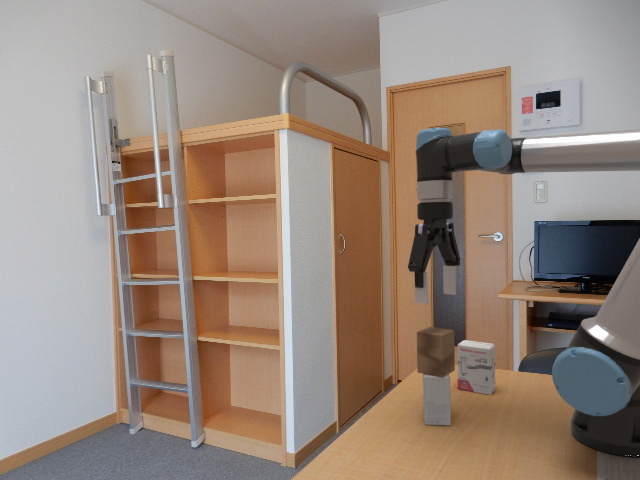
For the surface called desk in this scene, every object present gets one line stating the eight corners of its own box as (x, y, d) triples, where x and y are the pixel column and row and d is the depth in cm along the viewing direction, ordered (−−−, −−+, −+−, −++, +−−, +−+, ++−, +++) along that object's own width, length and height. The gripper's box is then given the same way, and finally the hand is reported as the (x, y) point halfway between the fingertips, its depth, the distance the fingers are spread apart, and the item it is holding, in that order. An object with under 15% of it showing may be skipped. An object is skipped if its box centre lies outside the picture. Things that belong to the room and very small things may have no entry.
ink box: (456, 389, 122) (455, 343, 121) (462, 383, 126) (462, 339, 125) (490, 395, 117) (490, 348, 116) (496, 389, 121) (495, 343, 120)
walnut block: (454, 370, 104) (454, 330, 104) (442, 377, 100) (442, 335, 99) (429, 365, 108) (429, 326, 108) (417, 372, 104) (416, 331, 103)
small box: (451, 426, 100) (450, 377, 99) (424, 425, 101) (423, 376, 100) (448, 411, 108) (447, 366, 107) (423, 410, 109) (422, 365, 108)
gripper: (443, 202, 114) (445, 289, 115) (389, 201, 95) (391, 305, 96) (474, 201, 110) (475, 292, 110) (423, 199, 90) (425, 309, 91)
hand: (436, 298), depth 103 cm, fingers open, 13 cm apart
